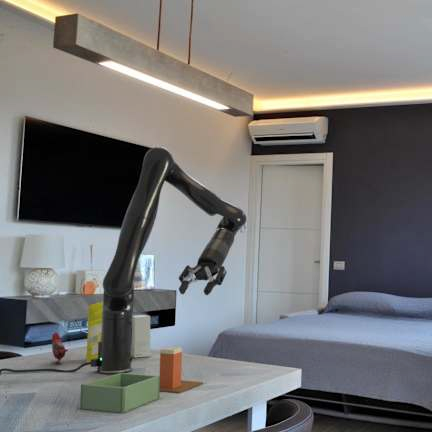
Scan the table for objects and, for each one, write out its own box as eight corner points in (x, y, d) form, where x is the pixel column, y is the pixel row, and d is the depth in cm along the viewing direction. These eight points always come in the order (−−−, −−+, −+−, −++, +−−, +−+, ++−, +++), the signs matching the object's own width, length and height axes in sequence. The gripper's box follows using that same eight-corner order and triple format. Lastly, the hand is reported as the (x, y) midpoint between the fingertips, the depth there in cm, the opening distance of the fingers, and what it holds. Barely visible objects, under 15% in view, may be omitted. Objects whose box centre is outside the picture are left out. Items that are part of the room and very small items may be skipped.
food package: (102, 355, 219) (104, 301, 220) (105, 355, 219) (107, 301, 220) (84, 363, 204) (87, 305, 205) (88, 363, 204) (90, 305, 205)
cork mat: (142, 389, 169) (142, 388, 169) (168, 380, 181) (168, 379, 181) (179, 393, 166) (179, 391, 166) (203, 383, 178) (203, 382, 178)
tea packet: (158, 387, 170) (160, 349, 171) (167, 384, 174) (168, 346, 175) (172, 388, 169) (173, 350, 170) (181, 385, 173) (182, 347, 174)
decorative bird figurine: (57, 359, 210) (58, 331, 210) (71, 368, 197) (72, 337, 197) (48, 360, 208) (49, 332, 208) (62, 369, 195) (63, 338, 195)
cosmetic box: (150, 356, 218) (151, 316, 219) (133, 358, 215) (134, 317, 215) (145, 353, 225) (147, 313, 226) (128, 354, 222) (130, 314, 222)
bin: (79, 408, 149) (80, 384, 150) (119, 394, 164) (120, 372, 164) (122, 412, 146) (123, 388, 146) (159, 398, 160) (160, 375, 161)
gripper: (237, 263, 195) (218, 301, 184) (199, 262, 199) (177, 300, 188) (229, 247, 191) (209, 285, 179) (190, 247, 194) (168, 284, 183)
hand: (193, 292), depth 183 cm, fingers open, 8 cm apart
